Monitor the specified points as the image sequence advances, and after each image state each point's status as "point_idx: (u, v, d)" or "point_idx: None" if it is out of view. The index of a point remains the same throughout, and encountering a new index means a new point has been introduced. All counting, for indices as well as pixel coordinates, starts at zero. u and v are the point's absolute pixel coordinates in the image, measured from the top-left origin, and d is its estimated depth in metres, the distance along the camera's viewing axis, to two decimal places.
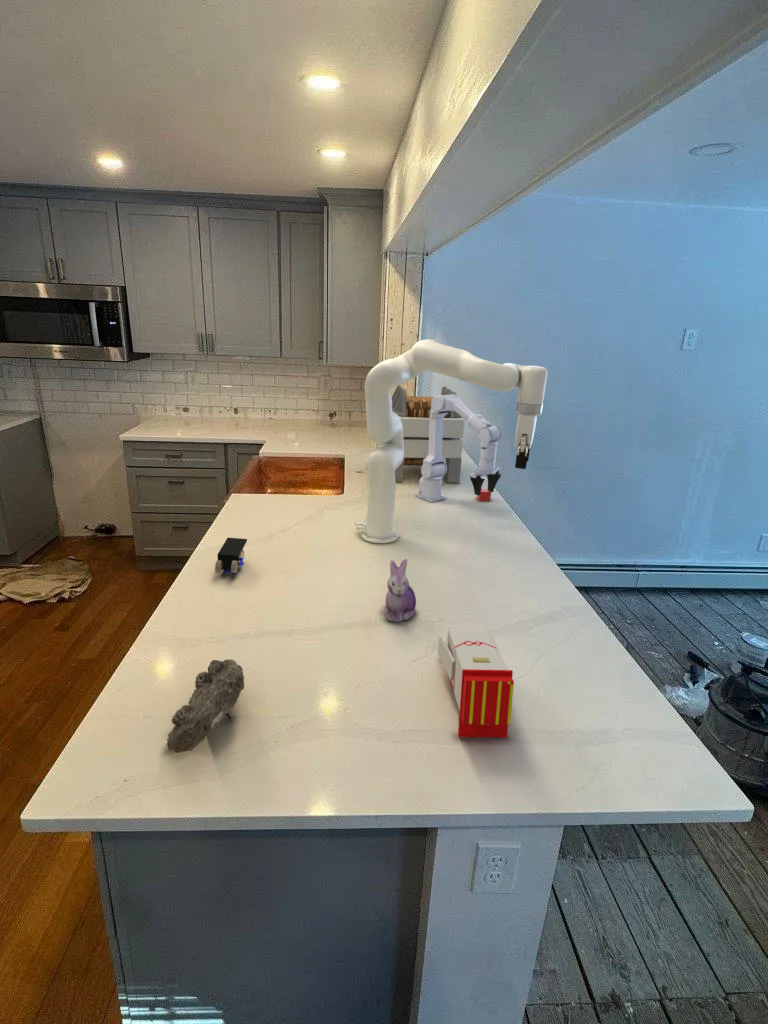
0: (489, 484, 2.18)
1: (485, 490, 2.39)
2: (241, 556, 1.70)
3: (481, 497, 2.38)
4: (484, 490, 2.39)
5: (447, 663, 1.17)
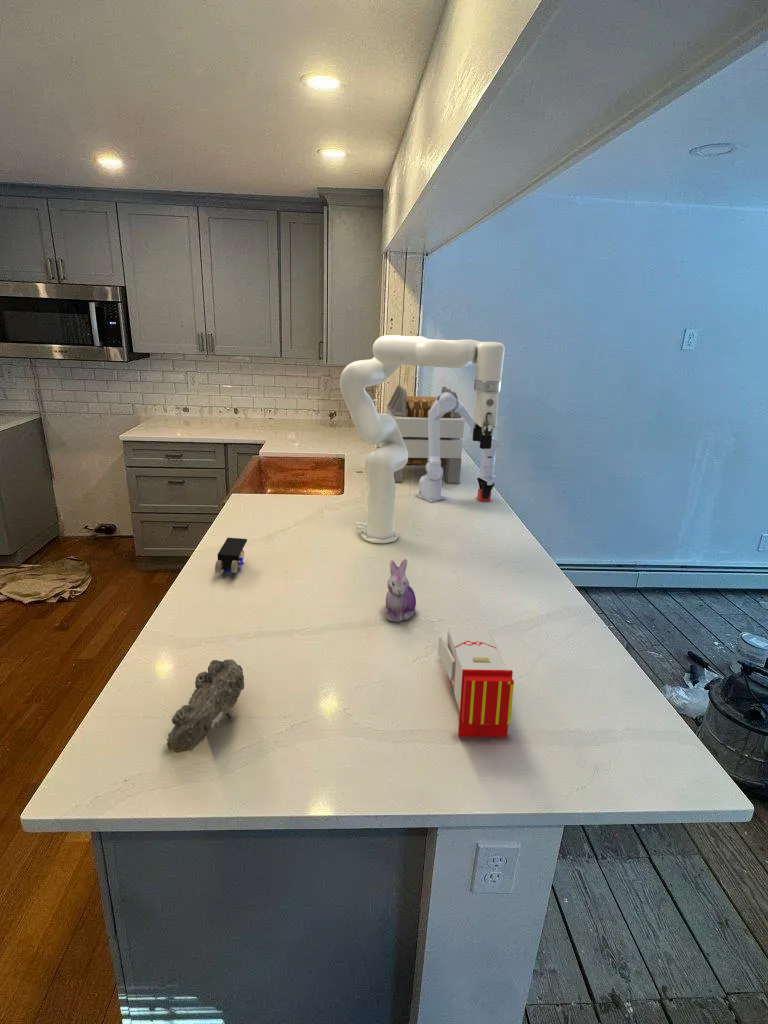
0: (481, 488, 2.41)
1: None
2: (241, 556, 1.70)
3: (481, 497, 2.38)
4: None
5: (447, 663, 1.17)
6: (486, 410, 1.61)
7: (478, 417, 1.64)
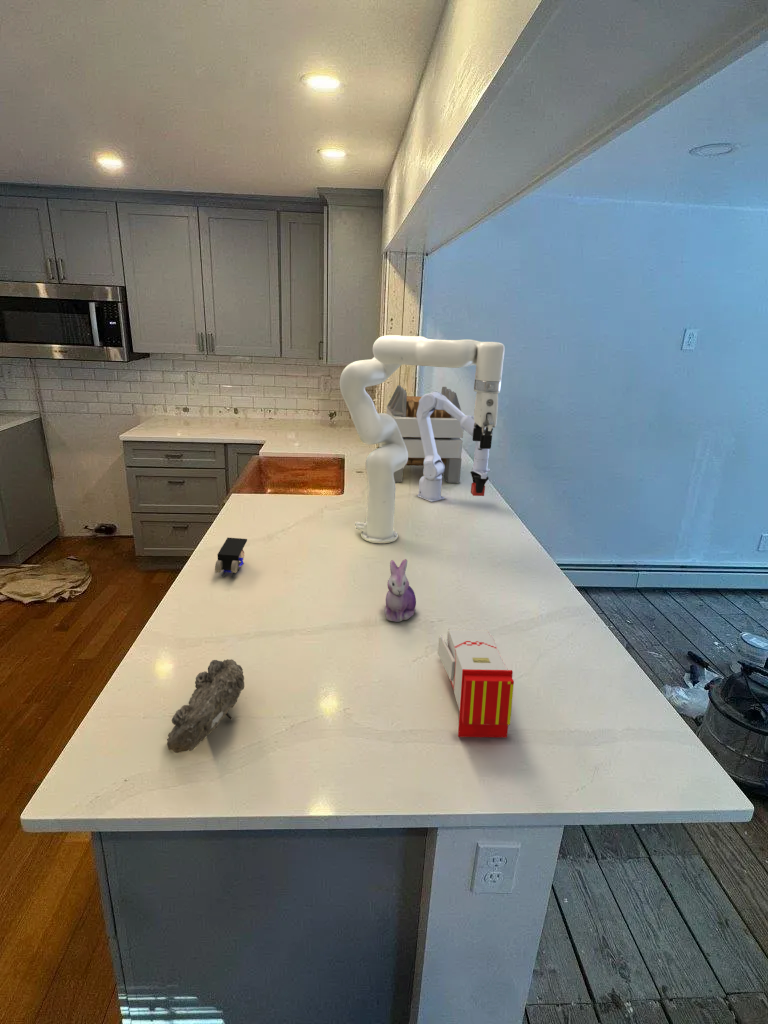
0: (475, 482, 2.31)
1: None
2: (241, 556, 1.70)
3: (475, 491, 2.27)
4: None
5: (447, 663, 1.17)
6: (486, 410, 1.61)
7: (478, 417, 1.64)
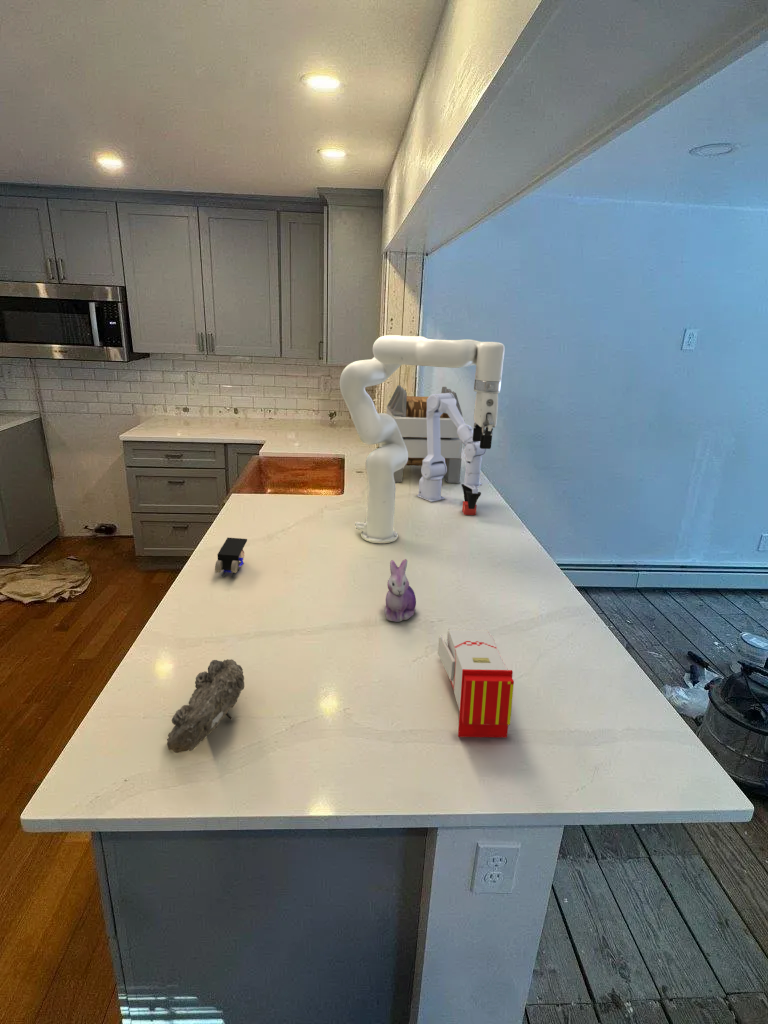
0: (466, 495, 2.25)
1: None
2: (241, 556, 1.70)
3: (466, 510, 2.21)
4: None
5: (447, 663, 1.17)
6: (486, 410, 1.61)
7: (478, 417, 1.64)
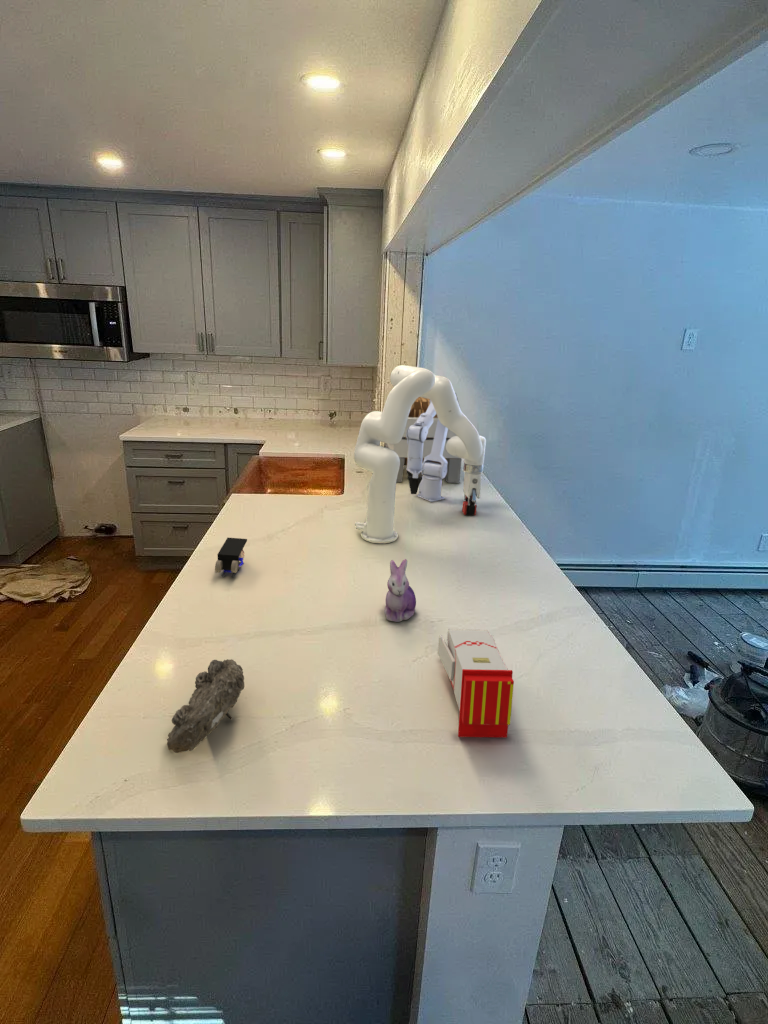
0: None
1: None
2: (241, 556, 1.70)
3: None
4: None
5: (447, 663, 1.17)
6: (472, 488, 2.15)
7: (466, 490, 2.18)
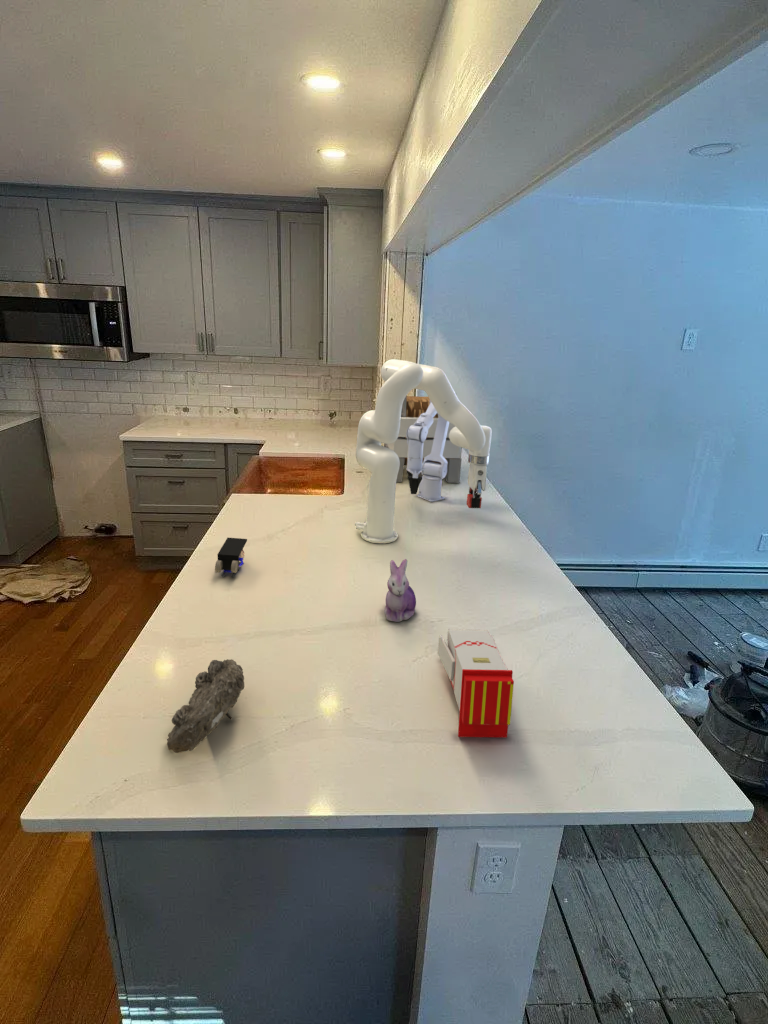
0: None
1: None
2: (241, 556, 1.70)
3: None
4: None
5: (447, 663, 1.17)
6: (477, 480, 2.07)
7: (471, 483, 2.10)
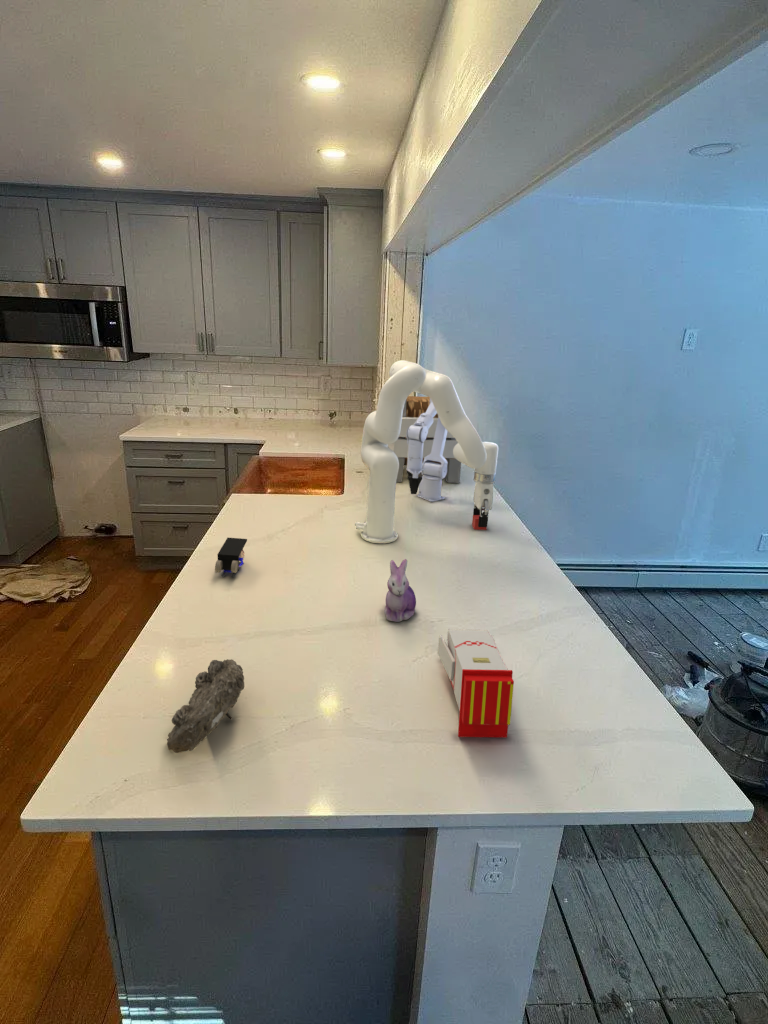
0: None
1: None
2: (241, 556, 1.70)
3: (476, 525, 2.06)
4: None
5: (447, 663, 1.17)
6: (483, 497, 2.00)
7: (477, 501, 2.03)
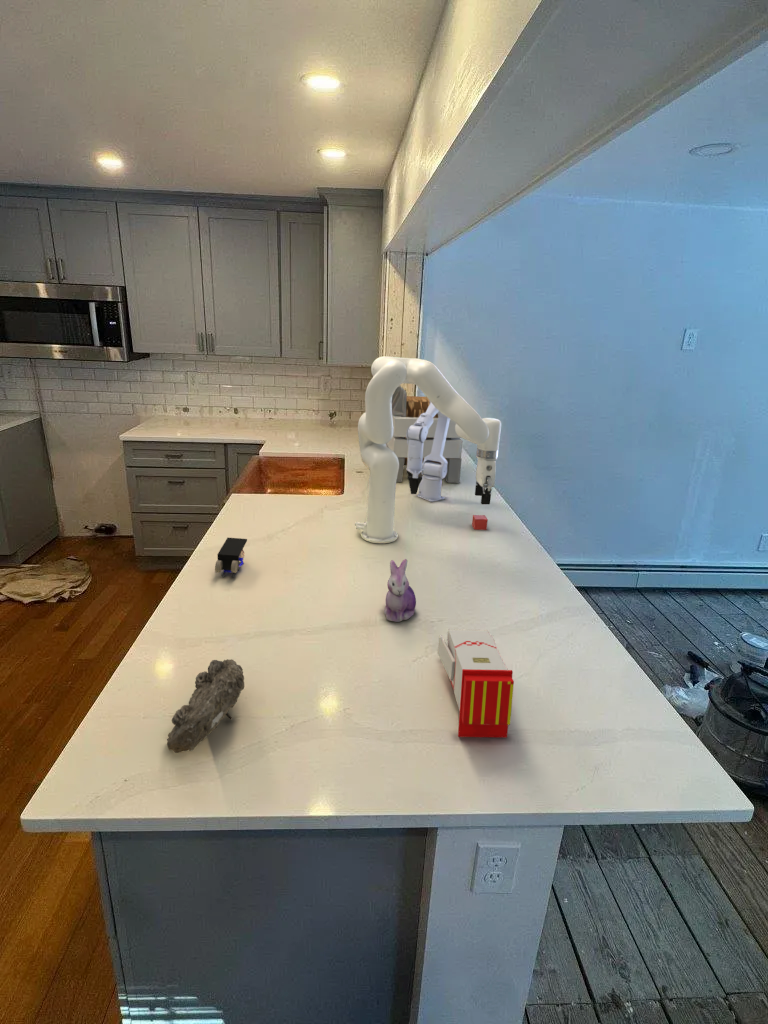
0: None
1: (481, 517, 2.08)
2: (241, 556, 1.70)
3: (476, 525, 2.06)
4: (480, 517, 2.07)
5: (447, 663, 1.17)
6: (486, 474, 1.97)
7: (479, 478, 2.00)
